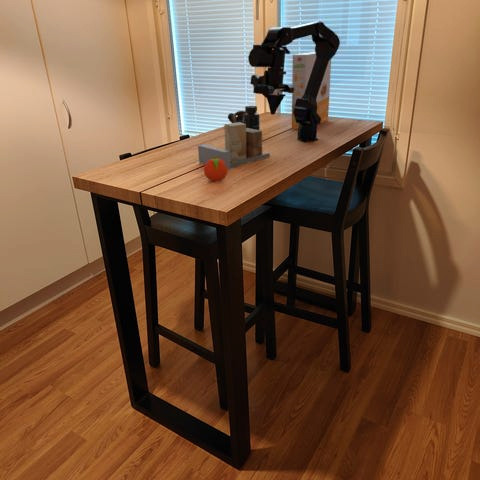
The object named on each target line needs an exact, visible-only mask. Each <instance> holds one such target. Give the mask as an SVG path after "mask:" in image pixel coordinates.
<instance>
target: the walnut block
mask: <svg viewBox="0 0 480 480" xmlns="http://www.w3.org/2000/svg"><path fill="white" fill-rule="evenodd" d="M261 154H263V131H262V130H255V129H250V128H246V159H247V158H251V157H254V156H258V155H261Z"/></svg>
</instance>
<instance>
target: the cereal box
mask: <svg viewBox="0 0 480 480" xmlns="http://www.w3.org/2000/svg"><path fill="white" fill-rule="evenodd" d="M315 60H316V54H315V51H311V52H303V53H298V54H297V53H295V54H292V69H291V70H292V77H291V79H292V82H291V83H292V84H291V85H293V87H294V93H291V95H292V96H291V130H295V129H298V128H299V124H300V123H296V120H295V117H294V114H293V112H294V109H293V107H294V106H295V103H296V99H297V98H302V97H303V95H304V93H305V90H306V87H307V84H308V81H309V78H310V75H311V72H312V69H313V66H314V63H315ZM331 69H332V58H331V59H330V60H329V62H328V65H327V68H326V71H325V74H324V77H323V80H322V83H321V86H320V89H319V92H318V95H317V98H316V101H317V114H318V115H319V116H320V118H321V122H320V124H318V125H317V126H319V125H321V123H322V124H324V122H325V123H326V121H327V122H329V110H330V92H331V91H330V90H331V89H330V88H331Z"/></svg>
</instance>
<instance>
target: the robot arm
mask: <svg viewBox="0 0 480 480" xmlns="http://www.w3.org/2000/svg"><path fill="white" fill-rule="evenodd" d="M266 33H267V34H266V36H265V37H264V39H263V41H262V42H261V44H253V45H252V48H251V50H250V51H249V54H248V56H247V58H248V60H247V61H248V64H249V65H250V67H252V68H267V69H266V70H264V72H263V75H258V74H252V75H251V76H250V82H249V83H250V84H251V85H252V86H253V94H257V95H258V94H259V95H262V96H264V97H265V98H266V100H267V103H268V108H269V112H270V115H271V116H272V115H273V116H274V115H275V114H276V112H277V110H278V109H279V107H280V105H281V103H282V101H283V99H284V97H286V95H287V94H286V93H289V94H292V93H294V87H293V85H292V84H286V83H284V76H285V75H287V71H285V62H286V55H290V54H291V51H290V50H289V49H288V47H287V46H288V45H290V44H291V43H293V42H294V40H297V39H302V38H306V37H309V36H311V41H312V42H313V43H314V44H315V47H314V52H315V54H316V60H315V63H314V66H313V69H312V72H311V75H310V78H309V81H308V84H307V87H306V90H305V93H304V95H303V97H302V98H297V99H296V103H295V106H294V107H293V109H294V112H293V114H294V117H295V120H296V123H300V124H299V128H298V130H297V137H296V139H297V140H300V141H301V142H304V143H305V142H313V141H319V138H318V137H317V131H318V129H317V127H318V126H319V125H321V124H320V122H321V118H320V116H319V115H318V114H317V101H316V98H317V95H318V92H319V89H320V86H321V83H322V80H323V77H324V74H325V71H326V68H327V65H328V62H329V60H330V59H331V60H332V58H334V56H335V55H336V54H337V51H338V50H339V47H340V44H341V41H340V38H339V36H338V35H337V34H336V33H335V32H334V31H333V30H332V29H330V27H327V26H326V25H325V23H324V22H323V21H321V20H319V21H318V20H317V21H311V22H308V23H304V24H299V25H296V26H291V27H289V26H288V27H283V26H280V27H271V28H269V29H268V30H267V32H266ZM318 124H319V125H318Z"/></svg>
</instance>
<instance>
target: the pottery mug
mask: <svg viewBox="0 0 480 480" xmlns="http://www.w3.org/2000/svg"><path fill="white" fill-rule="evenodd" d="M245 113H246V111H245V110H238V111H236V112H234V113H233V112H231V113H228V115H227V119H228V121H229V122H230V123H238V122H241V123H243V115H244V114H245Z"/></svg>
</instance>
